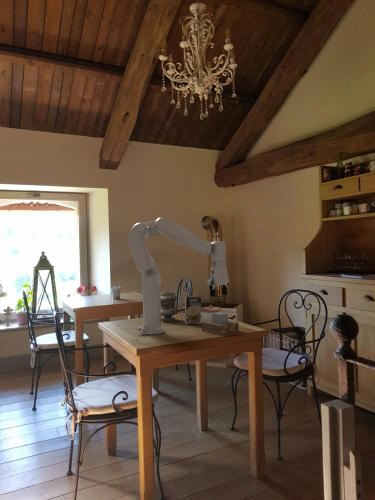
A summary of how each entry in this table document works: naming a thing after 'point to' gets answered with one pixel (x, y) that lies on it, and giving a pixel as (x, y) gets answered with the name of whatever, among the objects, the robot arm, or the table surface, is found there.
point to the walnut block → (220, 327)
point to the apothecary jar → (168, 305)
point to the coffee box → (192, 309)
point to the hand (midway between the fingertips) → (218, 295)
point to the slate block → (219, 317)
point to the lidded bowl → (208, 313)
